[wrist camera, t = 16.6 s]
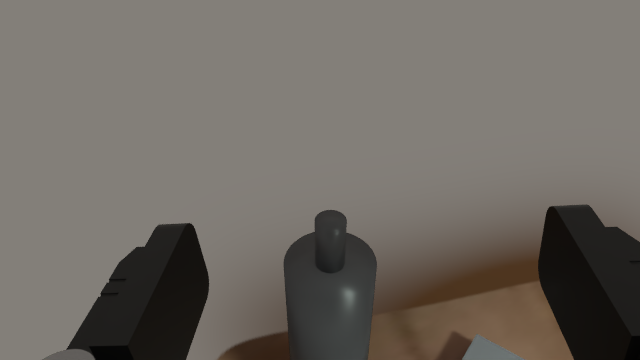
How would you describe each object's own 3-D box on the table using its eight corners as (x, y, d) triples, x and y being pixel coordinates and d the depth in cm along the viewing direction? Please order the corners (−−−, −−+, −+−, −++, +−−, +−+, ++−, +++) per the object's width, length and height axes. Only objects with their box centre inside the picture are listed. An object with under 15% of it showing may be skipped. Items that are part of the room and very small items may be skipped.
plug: (321, 362, 39) (320, 178, 28) (376, 399, 36) (398, 213, 25) (279, 413, 35) (260, 227, 24) (336, 457, 33) (343, 273, 22)
